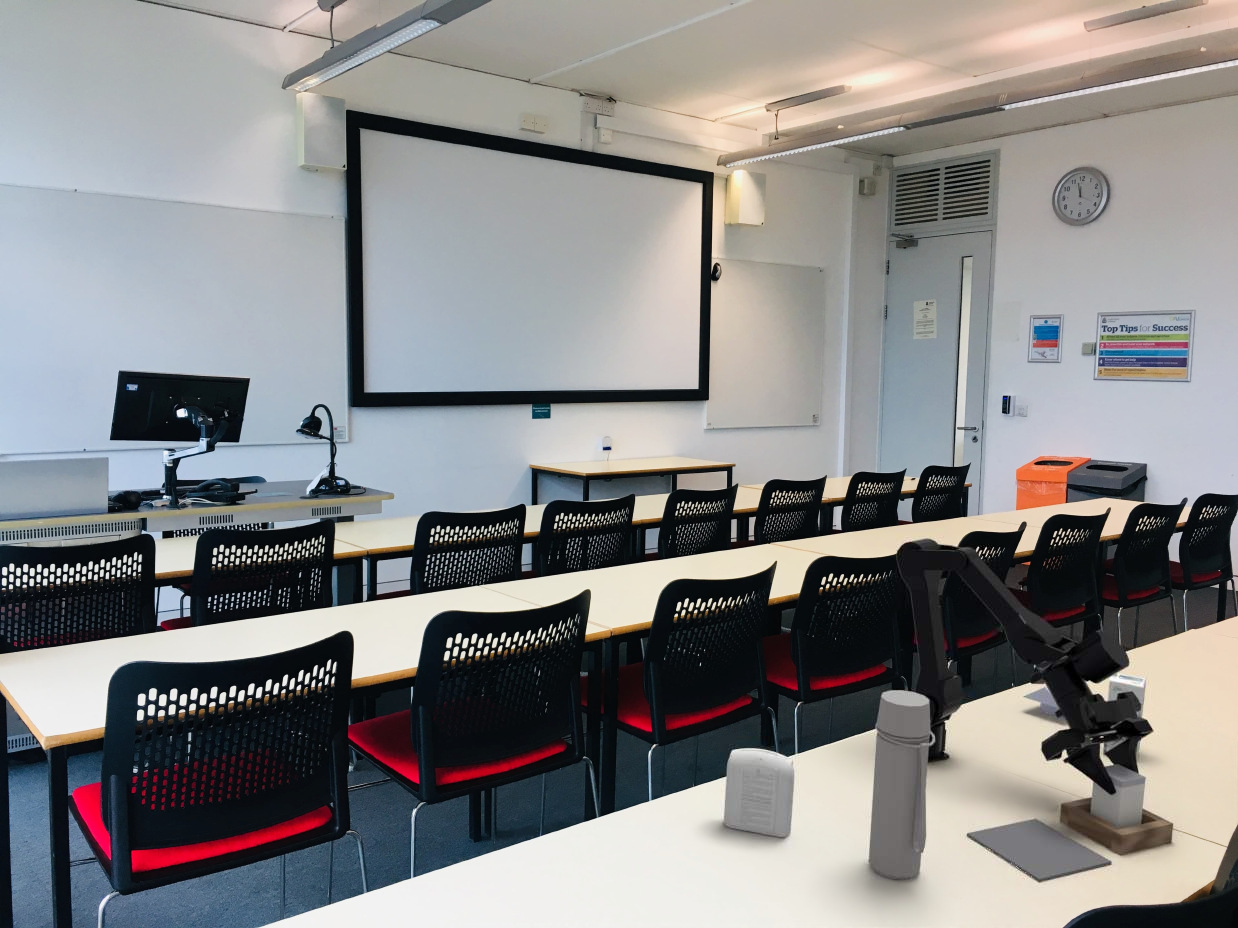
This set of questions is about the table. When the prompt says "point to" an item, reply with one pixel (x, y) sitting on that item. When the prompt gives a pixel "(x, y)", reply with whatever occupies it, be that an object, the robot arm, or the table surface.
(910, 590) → the robot arm
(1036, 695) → the lavender angled block
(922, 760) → the water bottle
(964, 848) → the table surface
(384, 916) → the table surface
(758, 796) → the grey flat block
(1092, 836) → the frame
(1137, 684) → the syrup box
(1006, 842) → the rubber mat
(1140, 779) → the grey parts box
